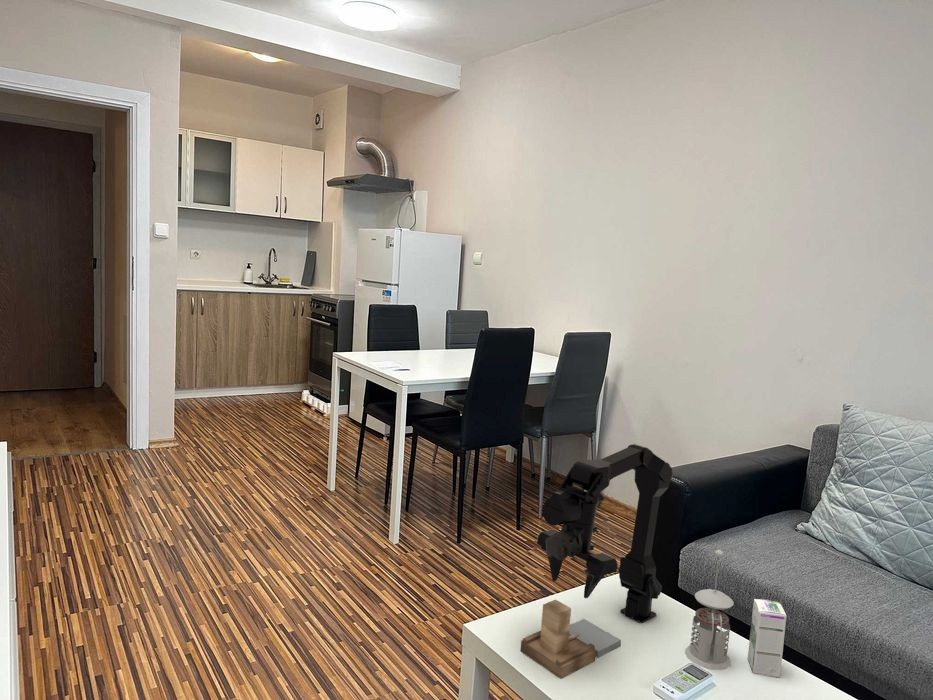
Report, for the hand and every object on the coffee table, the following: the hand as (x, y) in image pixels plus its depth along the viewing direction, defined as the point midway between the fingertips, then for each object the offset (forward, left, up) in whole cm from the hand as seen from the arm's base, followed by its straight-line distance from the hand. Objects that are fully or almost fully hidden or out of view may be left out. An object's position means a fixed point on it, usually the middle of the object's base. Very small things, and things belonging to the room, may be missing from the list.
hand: (569, 589), depth 148 cm
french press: (-24, +21, -15) cm, 35 cm away
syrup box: (-31, +30, -15) cm, 46 cm away
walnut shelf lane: (+3, +1, -14) cm, 15 cm away
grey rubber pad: (-8, +1, -14) cm, 16 cm away
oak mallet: (+2, +1, -12) cm, 12 cm away
